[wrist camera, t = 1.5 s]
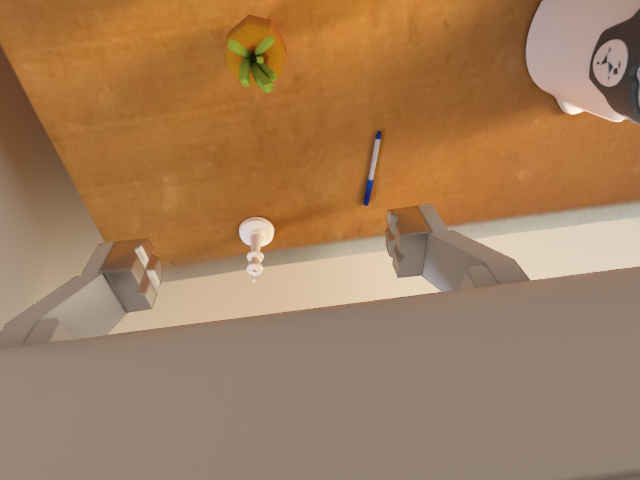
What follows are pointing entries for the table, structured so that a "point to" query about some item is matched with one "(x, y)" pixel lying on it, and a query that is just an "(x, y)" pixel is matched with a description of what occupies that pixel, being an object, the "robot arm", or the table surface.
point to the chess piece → (256, 241)
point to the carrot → (255, 53)
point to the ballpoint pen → (372, 169)
